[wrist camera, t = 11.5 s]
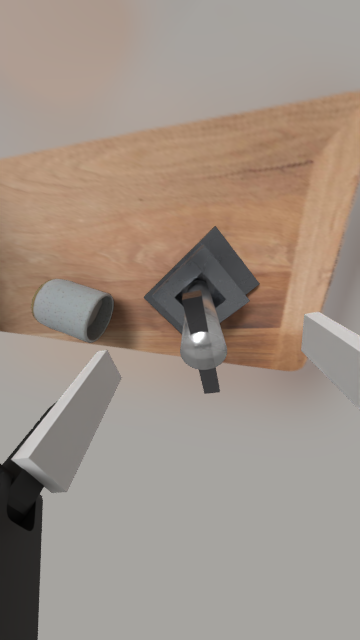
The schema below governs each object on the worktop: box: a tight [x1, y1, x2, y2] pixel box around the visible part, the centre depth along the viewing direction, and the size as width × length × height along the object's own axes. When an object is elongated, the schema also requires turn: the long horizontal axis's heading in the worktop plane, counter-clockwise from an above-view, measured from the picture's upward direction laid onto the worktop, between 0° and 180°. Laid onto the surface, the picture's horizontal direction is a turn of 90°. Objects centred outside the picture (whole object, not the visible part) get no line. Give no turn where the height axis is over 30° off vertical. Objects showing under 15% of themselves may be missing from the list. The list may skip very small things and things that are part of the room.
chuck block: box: [143, 226, 259, 334], centre depth 24 cm, size 10×14×4 cm
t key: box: [180, 280, 227, 393], centre depth 18 cm, size 8×3×15 cm, turn 13°
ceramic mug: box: [31, 279, 114, 343], centre depth 25 cm, size 11×8×8 cm
